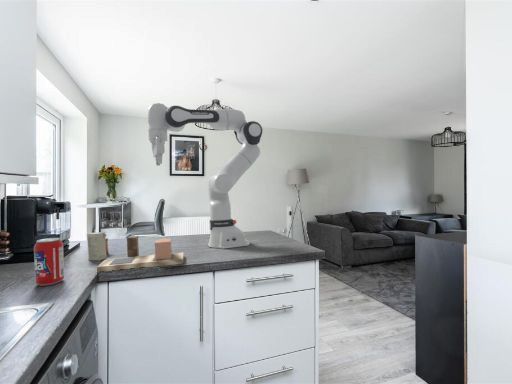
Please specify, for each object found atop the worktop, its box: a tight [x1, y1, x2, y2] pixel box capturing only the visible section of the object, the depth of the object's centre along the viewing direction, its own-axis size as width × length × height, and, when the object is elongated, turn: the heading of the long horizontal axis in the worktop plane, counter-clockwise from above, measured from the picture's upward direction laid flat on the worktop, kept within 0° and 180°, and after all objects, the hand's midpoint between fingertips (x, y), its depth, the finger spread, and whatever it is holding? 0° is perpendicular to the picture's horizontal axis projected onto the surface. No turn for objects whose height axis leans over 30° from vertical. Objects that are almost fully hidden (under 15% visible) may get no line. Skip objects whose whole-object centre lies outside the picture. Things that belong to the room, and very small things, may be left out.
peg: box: [126, 235, 140, 257], centre depth 121 cm, size 4×4×10 cm
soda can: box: [33, 237, 65, 287], centre depth 91 cm, size 8×8×15 cm
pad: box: [109, 257, 135, 265], centre depth 110 cm, size 8×9×1 cm
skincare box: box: [86, 231, 107, 262], centre depth 121 cm, size 6×4×12 cm
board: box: [96, 251, 184, 273], centre depth 112 cm, size 32×12×7 cm, turn 105°
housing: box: [154, 238, 173, 260], centre depth 114 cm, size 6×8×7 cm
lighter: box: [105, 233, 109, 255], centre depth 130 cm, size 8×3×10 cm, turn 129°
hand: (159, 164), depth 133 cm, fingers open, 8 cm apart
